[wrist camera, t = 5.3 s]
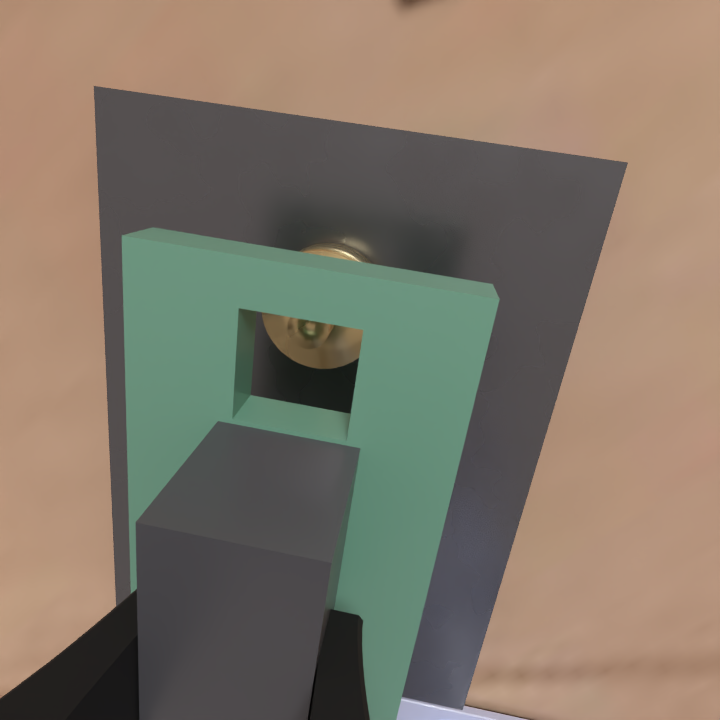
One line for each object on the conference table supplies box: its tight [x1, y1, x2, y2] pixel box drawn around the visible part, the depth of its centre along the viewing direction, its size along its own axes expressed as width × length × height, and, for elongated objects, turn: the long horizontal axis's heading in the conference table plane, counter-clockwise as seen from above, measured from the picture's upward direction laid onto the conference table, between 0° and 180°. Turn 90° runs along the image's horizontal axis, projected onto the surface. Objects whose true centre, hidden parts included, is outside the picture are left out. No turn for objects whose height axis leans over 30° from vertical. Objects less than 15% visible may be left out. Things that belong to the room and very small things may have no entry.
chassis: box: [94, 86, 628, 710], centre depth 17 cm, size 20×14×5 cm
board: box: [122, 227, 500, 720], centre depth 11 cm, size 15×7×4 cm, turn 172°
